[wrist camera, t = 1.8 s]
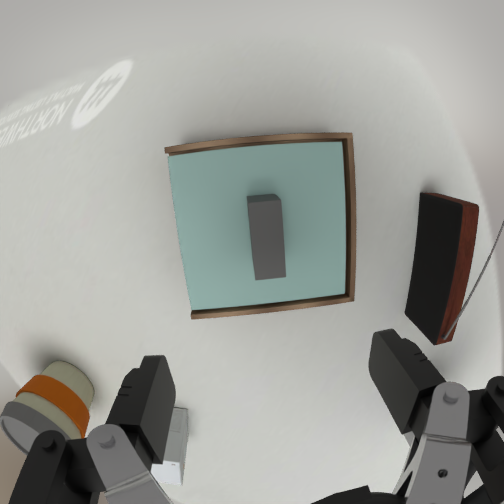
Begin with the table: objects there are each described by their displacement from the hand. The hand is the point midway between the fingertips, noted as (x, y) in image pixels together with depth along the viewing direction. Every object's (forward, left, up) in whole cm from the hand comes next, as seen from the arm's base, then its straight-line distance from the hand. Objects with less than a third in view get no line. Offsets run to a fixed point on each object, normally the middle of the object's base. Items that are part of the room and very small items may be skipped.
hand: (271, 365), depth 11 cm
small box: (+15, +30, -23) cm, 41 cm away
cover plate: (-1, -1, -18) cm, 18 cm away
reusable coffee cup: (+31, +22, -23) cm, 45 cm away
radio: (-22, +5, -23) cm, 32 cm away
